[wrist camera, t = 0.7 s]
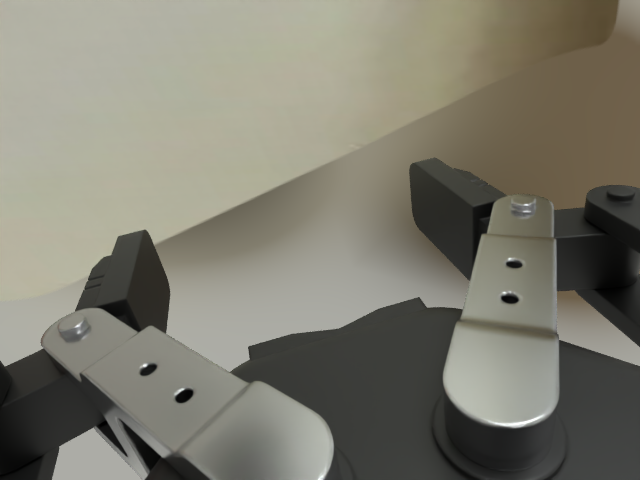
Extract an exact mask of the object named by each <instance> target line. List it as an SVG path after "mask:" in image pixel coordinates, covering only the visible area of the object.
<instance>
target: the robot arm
mask: <svg viewBox="0 0 640 480" xmlns="http://www.w3.org/2000/svg"><path fill="white" fill-rule="evenodd" d="M409 171H410V172H409V174H410V188H411V202H412V213H413V217H414V220H415V223H416V225H417V227H418V228H419V230H420V231H421V232H422V233H424V235H425V236H426V237H427V238H428V239H429V240H430V241H431V242H432V243H433V244H434V245H435V246H436V247H437V248H438V249H439V250H440V251H441V252H442V253H443V254H444V255H445V256H446V257H447V258H448V259H449V260H450V261H451V262H452V263H453V264H454V266H455V267H457V269H459V271H460V272H461V273H462V274H463V275H464V276H465V277H466V278H467V279H468V280H469V281H470V283H469V287H468V291H467V295H466V299H465V303H464V307H463V309H456V308H445V307H437V308H436V307H433V308H427V307H426V306H425V304H424V303H423V302H422V301H421V299H420V298H419V297H418V298H414V299H411V300H408V301H404V302H401V303H397V304H394V305H390V306H387V307H383V308H380V309H378V310H375V311H374V312H371V313H369V314H367V315H366V316H363V317H362V318H360V319H358V320H356V321H354V322H352V323H350V324H348V325H346V326H344V327H341V328H339V329H334V330H324V331H315V332H306V333H297V334H290V335H287V336H284V337H280V338H276V339H273V340H270V341H266V342H263V343H259V344H256V345H252V346H249V347H248V349H249V357H250V360H248V361H247V362H245V363H243V364H241V365H240V366H238V367H236V368H235V369H233V370H232V371H231V372H228V371H227V370H225V369H223V368H222V367H220V366H218V365H217V364H215V363H213V362H212V361H210V360H208V359H207V358H205V357H203V356H202V355H200V354H198V353H197V352H195V351H194V350H192V349H190V348H189V347H187V346H185V345H184V344H182V343H180V342H179V341H177V340H175V339H174V338H172V337H170V336H169V335H167V334H166V329H167V320H168V311H169V300H170V288H169V283H168V279H167V276H166V274H165V271H164V269H163V266H162V264H161V261H160V259H159V256H158V254H157V252H156V249H155V247H154V244H153V242H152V239H151V237H150V235H149V233H148V232H147V231H146V230H142V231H138V232H134V233H130V234H126V235H122V236H119V237H118V238H117V241H116V244H115V247H114V249H113V252H112V255H110V256H106V257H104V258H103V259H102V260H101V261H100V262H99V263H98V264H96V265H95V266H94V267H93V268H92V271H91V273H90V276H89V278H88V281H87V283H86V286H85V290H83V293H82V295H81V298H80V300H79V303H78V305H77V307H76V310H75V312H73V313H71V314H69V315H66V316H65V317H63V318H61V319H60V320H58V321H57V322H55V323H54V324H53V325H51V326H50V327H49V328H48V329H47V330H46V332H45V333H44V334H43V336H42V338H41V346H42V347H43V349H41V350H40V351H38V352H36V353H34V354H32V355H29V356H27V357H25V358H23V359H21V360H19V361H17V362H14V363H12V364H10V365H8V366H5V367H4V365H3V364H2V362H1V361H0V480H52V476H53V472H54V468H55V464H56V460H57V456H58V453H59V446H61V445H62V444H64V443H66V442H68V441H70V440H71V439H73V438H75V437H77V436H79V435H81V434H82V433H84V432H86V431H88V430H90V429H91V428H93V427H94V429H95V430H96V432H97V433H98V434H99V435H100V436H101V437H102V438H103V439H104V440H105V441H106V442H107V443H108V444H109V445H110V446H111V447H112V448H113V449H114V450H115V451H116V452H117V453H118V454H119V455H120V456H121V457H122V458H123V460H125V462H126V463H127V464H128V465H130V467H131V468H132V469H133V470H134V471H135V472H136V473H137V474H138V475H139V477H140V478H141V479H142V480H640V366H637V365H634V364H631V363H628V362H625V361H622V360H619V359H616V358H613V357H610V356H607V355H604V354H601V353H598V352H595V351H591V350H588V349H585V348H582V347H579V346H576V345H573V344H570V343H567V342H564V341H561V340H559V337H558V334H557V291H569V290H575V291H576V292H577V293H578V295H580V296H581V297H582V298H583V299H584V300H585V301H587V302H588V303H589V304H590V305H591V306H592V307H594V308H595V309H596V310H597V311H598V312H600V313H601V314H602V315H603V316H604V317H605V318H607V319H608V320H609V321H610V322H611V323H612V324H614V325H615V326H616V327H617V328H618V329H619V330H621V331H622V332H623V333H624V334H625V335H627V336H628V337H629V338H630V339H631V340H632V341H633V342H635V343H636V344H637V345H638V346H639V347H640V274H639V270H640V188H636V187H632V186H624V185H608V186H601V187H597V188H594V189H592V190H590V191H589V192H588V193H587V196H586V203H585V208H573V209H562V210H554V205H553V204H552V202H551V201H549V200H548V199H546V198H544V197H540V196H536V195H530V194H515V195H509V196H507V195H505V194H504V193H502V192H501V191H499V190H497V189H496V188H494V187H493V186H491V185H488V183H486V182H485V181H483V180H480V179H479V178H478V177H477V176H475V175H473V174H472V173H470V172H467V171H463V170H459V169H455V168H454V169H452V168H451V167H449V166H448V165H446V164H445V163H443V162H442V161H440V160H439V159H437V158H431V159H427V160H423V161H420V162H415V163H412V164H411V165H410V170H409Z"/></svg>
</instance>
